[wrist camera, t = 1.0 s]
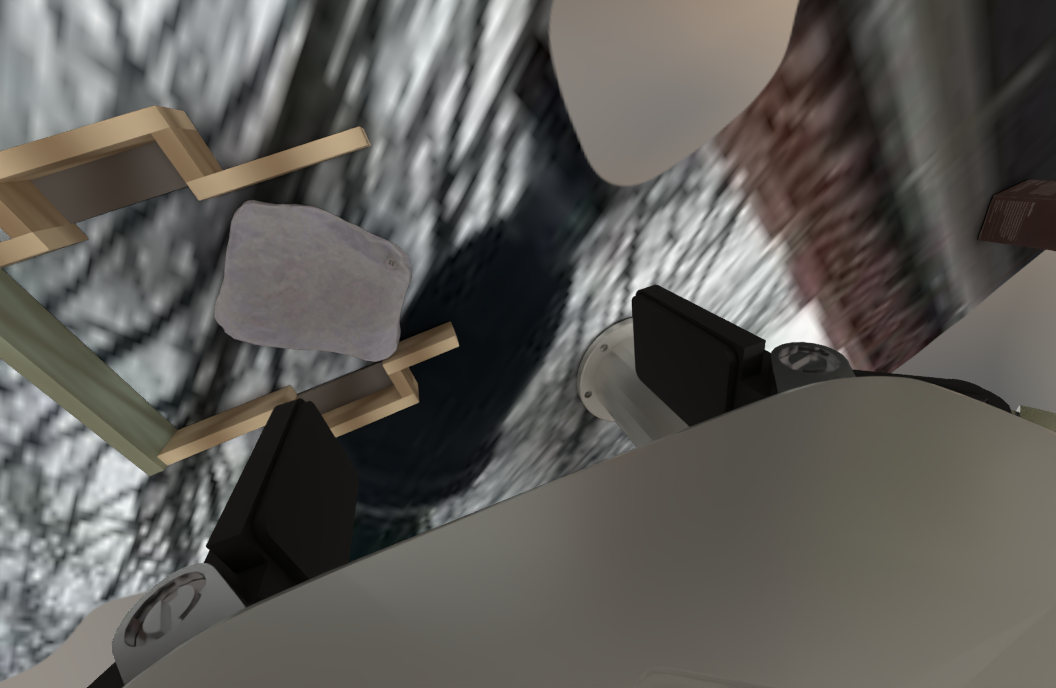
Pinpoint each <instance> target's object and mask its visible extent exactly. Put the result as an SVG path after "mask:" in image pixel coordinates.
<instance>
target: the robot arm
mask: <svg viewBox="0 0 1056 688" xmlns="http://www.w3.org/2000/svg"><path fill="white" fill-rule="evenodd" d="M632 317H633V318H629V319H626V320H624V321H621V322H619V323H617V324H615V325H613V326H612V327H610V328H609V329H607V330H606V331H605V332H603V333H602V334H601V335H600V336H599V337H598V338H597V339H596V340H595V341H594V342H593V343H592V344H591V346H590V347H589V348H588V350H587V352H586V353H585V355H584V356H583V359H582V361H581V364H580V366H579V370H578V375H577V389H578V394H579V397H580V399H581V401H582V403H583V404H584V405H585V407H586V408H587V409H588V411H590V412H591V413H592V414H593V415H594V416H596V417H598V418H600V419H603V420H607V421H614V422H617V424H618V425H619V426H620V427H621V429H622V430H623V431H624V432H625V434H626V435H627V436H628V437H629V439H630V440H631V441H632V442H633V444H634V445H635V446H636V447H637V448H635V449H632V450H630V451H627V452H624V453H622V454H619V455H617V456H614V457H612V458H609V459H607V460H604V461H602V462H599V463H596V464H594V465H591V466H589V467H586V468H584V469H581V470H579V471H576V472H574V473H571V474H569V475H566V476H564V477H561V478H559V479H556V480H554V481H551V482H549V483H546V484H544V485H541V486H539V487H536V488H534V489H531V490H529V491H526V492H524V493H521V494H519V495H516V496H513V497H511V498H508V499H506V500H503V501H501V502H498V503H496V504H493V505H491V506H488V507H486V508H483V509H481V510H479V511H476V512H474V513H471V514H469V515H466V516H464V517H461V518H459V519H456V520H454V521H451V522H449V523H446V524H444V525H441V526H439V527H436V528H434V529H432V530H429V531H427V532H424V533H422V534H419V535H417V536H414V537H412V538H409V539H407V540H404V541H402V542H399V543H397V544H394V545H392V546H389V547H387V548H384V549H382V550H380V551H377V552H375V553H372V554H370V555H367V556H365V557H362V558H360V559H357V560H355V561H352V562H350V563H349V556H350V548H351V540H352V532H353V524H354V516H355V508H356V500H357V492H358V483H359V480H358V475H357V472H356V470H355V468H354V466H353V465H352V463H351V461H350V460H349V458H348V457H347V455H346V453H345V452H344V450H343V449H342V447H341V445H340V444H339V442H338V441H337V439H336V437H335V436H334V434H333V433H332V431H331V429H330V428H329V426H328V425H327V423H326V421H325V420H324V418H323V417H322V415H321V413H320V412H319V410H318V409H317V407H316V405H315V404H314V403H313V402H312V401H307V402H305V401H304V400H303V399H301V398H299V399H296V400H292V401H289V402H286V403H283V404H280V405H277V406H275V407H274V409H273V411H272V413H271V415H270V417H269V419H268V421H267V423H266V425H265V427H264V429H263V431H262V433H261V435H260V437H259V439H258V441H257V443H256V445H255V448H254V450H253V452H252V454H251V456H250V458H249V460H248V462H247V464H246V466H245V468H244V470H243V472H242V474H241V476H240V478H239V480H238V482H237V484H236V486H235V488H234V490H233V492H232V494H231V496H230V498H229V500H228V502H227V504H226V506H225V508H224V510H223V512H222V514H221V516H220V518H219V521H218V523H217V525H216V527H215V529H214V531H213V533H212V535H211V537H210V539H209V541H208V543H207V545H206V547H207V548H208V549H209V550H210V551H209V553H208V555H207V557H206V559H205V561H204V563H197V564H194V565H190V566H187V567H184V568H182V569H180V570H179V571H177V572H175V573H173V574H171V575H169V576H168V577H166V578H165V579H164V580H162V581H161V582H159V583H158V584H156V585H155V586H154V587H153V588H152V589H151V590H149V591H148V592H147V593H146V594H145V595H144V596H143V597H142V598H140V599H139V601H138V602H137V603H136V604H135V605H134V606H133V607H132V608H131V610H130V611H129V612H128V613H127V614H126V616H125V617H124V619H123V621H122V622H121V624H120V625H119V627H118V628H117V631H116V633H115V635H114V638H113V641H112V653H113V656H114V659H115V661H116V662H115V663H114V664H112V665H111V666H110V667H109V668H108V669H107V670H106V671H105V672H104V673H103V674H102V675H100V676H99V677H98V678H97V679H96V680H95V681H94V682H93V683H92V684H91V685H89V686H88V687H87V688H1056V413H1053V412H1049V411H1044V410H1040V409H1036V408H1031V407H1026V406H1022V405H1020V406H1019V408H1018V409H1017V411H1013V410H1011V409H1010V407H1009V405H1008V404H1007V403H1006V402H1005V401H1004V400H1003V399H1001V398H1000V397H998V396H997V395H995V394H993V393H992V392H990V391H988V390H985V389H983V388H981V387H980V386H977V385H975V384H973V383H970V382H966V381H963V380H957V379H942V378H933V377H922V376H912V375H902V374H892V373H882V372H871V371H861V370H852V368H851V366H850V364H849V362H848V360H847V359H846V358H845V357H844V355H842V354H841V353H839V352H838V351H836V350H834V349H831V348H829V347H826V346H823V345H819V344H815V343H806V342H791V343H786V344H782V345H780V346H778V347H775V348H774V350H773V351H772V352H771V353H770V352H768V351H766V350H764V349H765V342H766V340H764V339H762V338H760V337H758V336H756V335H754V334H752V333H750V332H748V331H746V330H744V329H742V328H740V327H739V326H737V325H735V324H733V323H731V322H729V321H727V320H725V319H723V318H721V317H719V316H717V315H715V314H713V313H711V312H709V311H707V310H705V309H703V308H701V307H700V306H698V305H696V304H694V303H692V302H690V301H688V300H686V299H684V298H682V297H680V296H678V295H676V294H674V293H672V292H670V291H668V290H666V289H664V288H663V287H661V286H659V285H653V286H650V287H647V288H644V289H641V290H638V291H637V292H636V296H634V297H633V298H632Z"/></svg>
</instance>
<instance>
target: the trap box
mask: <svg viewBox="0 0 1056 688" xmlns="http://www.w3.org/2000/svg"><path fill="white" fill-rule="evenodd" d="M369 146H371V144H370V142H369V140H368V138H367V135H366V133H365V131H364V129H363V128H361V127H356V128H353V129H350V130H347V131H344V132H341V133H338V134H335V135H332V136H328V137H325V138H322V139H319V140H316V141H313V142H310V143H307V144H304V145H301V146H297V147H294V148H291V149H288V150H285V151H282V152H279V153H276V154H273V155H270V156H267V157H263V158H260V159H257V160H254V161H251V162H248V163H245V164H242V165H239V166H236V167H232V168H229V169H226V170H223V169H222V168H221V166H220V165H219V163H218V162H217V160H216V159H215V157H214V156H213V154H212V153H211V151H210V150H209V148H208V147H207V145H206V144H205V142H204V141H203V139H202V138H201V136H200V135H199V133H198V132H197V130H196V129H195V127H194V125H193V124H192V122H191V121H190V119H189V118H188V116H187V115H186V113H185V112H184V111H181V110H176V109H171V108H165V107H160V106H151V107H148V108H145V109H141V110H138V111H135V112H131V113H128V114H124V115H121V116H118V117H114V118H111V119H108V120H104V121H101V122H97V123H94V124H91V125H87V126H84V127H81V128H77V129H74V130H70V131H67V132H64V133H60V134H57V135H54V136H50V137H47V138H43V139H40V140H37V141H33V142H30V143H27V144H23V145H20V146H16V147H13V148H10V149H6V150H3V151H0V228H1V229H2V230H3V231H4V232H6V233H7V234H8V235H9V236H10V237H11V238H12V239H10V240H7V241H4V242H0V358H1V359H2V360H3V361H5V362H6V363H7V364H8V365H10V366H11V367H12V368H13V369H15V370H16V371H17V372H18V373H20V374H21V375H22V376H24V377H25V378H26V379H27V380H29V381H30V382H31V383H32V384H34V385H35V386H36V387H37V388H39V389H40V390H41V391H42V392H44V393H45V394H46V395H48V396H49V397H50V398H51V399H53V400H54V401H55V402H56V403H58V404H59V405H60V406H61V407H63V408H64V409H65V410H66V411H68V412H69V413H70V414H72V415H73V416H74V417H75V418H77V419H78V420H79V421H80V422H82V423H83V424H84V425H85V426H87V427H88V428H89V429H91V430H92V431H93V432H94V433H96V434H97V435H98V436H99V437H101V438H102V439H103V440H104V441H106V442H107V443H108V444H109V445H111V446H112V447H113V448H115V449H116V450H117V451H118V452H120V453H121V454H122V455H123V456H125V457H126V458H127V459H128V460H130V461H131V462H132V463H133V464H135V465H136V466H137V467H139V468H140V469H141V470H142V471H144V472H145V473H146V474H147V475H149V476H151V475H153V474H156V473H158V472H161V471H163V470H164V469H165V468H166V466H167V465H169V464H172V463H174V462H177V461H179V460H182V459H184V458H187V457H189V456H191V455H194V454H196V453H199V452H201V451H204V450H206V449H209V448H211V447H213V446H216V445H218V444H221V443H223V442H226V441H228V440H231V439H233V438H236V437H238V436H240V435H243V434H245V433H248V432H250V431H253V430H255V429H258V428H260V427H262V426H265V425H266V423H267V421H268V419H269V417H270V415H271V413H272V411H273V409H274V407H275V406H277V405H280V404H283V403H286V402H289V401H292V400H296V399H299V398H301V399H303V400H304V401H305V402H307V401H312V402H313V403H314V404H315V405H316V407H317V409H318V410H319V412H320V413H321V415H322V417H323V418H324V420H325V421H326V423H327V425H328V426H329V428H330V429H331V431H332V433H333V434H334V436H335V437H338V436H341V435H343V434H345V433H348V432H350V431H352V430H355V429H357V428H360V427H362V426H364V425H367V424H369V423H371V422H374V421H376V420H378V419H381V418H383V417H386V416H388V415H390V414H393V413H395V412H397V411H400V410H402V409H405V408H407V407H409V406H412V405H414V404H416V403H419V395H418V383H417V381H416V380H415V378H414V376H413V374H412V373H411V371H410V369H409V366H412V365H414V364H417V363H419V362H422V361H424V360H427V359H429V358H431V357H434V356H436V355H439V354H441V353H444V352H446V351H449V350H451V349H453V348H456V347H458V346H459V343H458V340H457V337H456V334H455V330H454V328H453V326H452V324H451V322H448V323H445V324H443V325H440V326H438V327H435V328H433V329H430V330H428V331H425V332H423V333H420V334H418V335H415V336H413V337H410V338H408V339H405V340H403V341H400V342H398V346H397V350H396V352H395V353H393V354H392V355H391V356H390V357H389V358H387V359H383V360H382V361H379V362H377V363H374V364H372V365H369V366H367V367H364V368H362V369H359V370H357V371H354V372H352V373H349V374H347V375H344V376H342V377H339V378H337V379H334V380H332V381H329V382H327V383H324V384H322V385H320V386H317V387H315V388H312V389H310V390H307V391H305V392H302V393H300V394H297V393H296V392H295V391H294V389H293V388H292V387H291V386H287V387H285V388H282V389H280V390H277V391H275V392H272V393H270V394H267V395H265V396H262V397H260V398H257V399H255V400H252V401H250V402H247V403H245V404H242V405H240V406H237V407H235V408H232V409H230V410H227V411H225V412H222V413H220V414H217V415H215V416H212V417H210V418H207V419H205V420H202V421H200V422H197V423H195V424H192V425H190V426H187V427H185V428H182V429H180V430H177V429H176V428H175V427H174V426H173V425H172V424H171V423H170V422H168V421H167V420H166V419H165V418H164V417H163V416H162V415H161V414H160V413H159V412H158V411H156V410H155V409H154V408H153V407H152V406H151V405H150V404H149V403H148V402H147V401H145V400H144V399H143V398H142V397H141V396H140V395H139V394H138V393H137V392H136V391H135V390H133V389H132V388H131V387H130V386H129V385H128V384H127V383H126V382H125V381H124V380H123V379H121V378H120V377H119V376H118V375H117V374H116V373H115V372H114V371H113V370H112V369H111V368H109V367H108V366H107V365H106V364H105V363H104V362H103V361H102V360H101V359H100V358H99V357H97V356H96V355H95V354H94V353H93V352H92V351H91V350H90V349H89V348H88V347H87V346H85V345H84V344H83V343H82V342H81V341H80V340H79V339H78V338H77V337H76V336H75V335H73V334H72V333H71V332H70V331H69V330H68V329H67V328H66V327H65V326H64V325H63V324H61V323H60V322H59V321H58V320H57V319H56V318H55V317H54V316H53V315H52V314H51V313H49V312H48V311H47V310H46V309H45V308H44V307H43V306H42V305H41V304H40V303H39V302H37V301H36V300H35V299H34V298H33V297H32V296H31V295H30V294H29V293H28V292H26V291H25V290H24V289H23V288H22V287H21V286H20V285H19V284H18V283H17V282H16V281H14V280H13V279H12V278H11V277H10V276H9V275H8V274H7V273H6V272H5V271H4V270H2V269H1V268H3V267H6V266H9V265H12V264H15V263H18V262H21V261H24V260H27V259H30V258H33V257H36V256H40V255H43V254H46V253H49V252H52V251H55V250H58V249H61V248H64V247H67V246H70V245H73V244H76V243H79V242H82V241H85V240H88V238H87V236H86V235H85V234H84V233H83V232H82V231H81V230H80V229H79V228H78V227H77V226H76V224H75V223H77V222H80V221H83V220H86V219H89V218H92V217H95V216H98V215H101V214H104V213H107V212H110V211H114V210H117V209H120V208H123V207H126V206H129V205H132V204H135V203H138V202H141V201H144V200H147V199H151V198H154V197H157V196H160V195H163V194H166V193H169V192H172V191H175V190H178V189H181V188H184V187H187V186H189V188H190V189H191V190H192V192H193V193H194V194H195V196H196V197H197V199H198V200H199V201H200V200H204V199H208V198H212V197H217V196H221V195H224V194H227V193H230V192H233V191H236V190H239V189H242V188H245V187H248V186H251V185H254V184H257V183H260V182H263V181H266V180H269V179H272V178H275V177H278V176H281V175H284V174H287V173H290V172H293V171H296V170H300V169H303V168H306V167H309V166H312V165H315V164H318V163H321V162H324V161H327V160H330V159H333V158H336V157H339V156H342V155H345V154H348V153H351V152H354V151H357V150H360V149H363V148H366V147H369Z"/></svg>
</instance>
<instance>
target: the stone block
mask: <svg viewBox="0 0 1056 688" xmlns="http://www.w3.org/2000/svg"><path fill="white" fill-rule="evenodd" d="M411 278H412V269H411V265H410V258H409V257H408V255H407V254H406V253H405V252H404V251H402V250H401V248H400V247H398V246H397V245H395V244H393V243H392V242H390V241H388V240H385V239H383V238H381V237H378V236H376V235H374V234H371V233H369V232H367V231H365V230H363V229H362V228H360V227H359V226H357V225H354V224H351V223H348V222H346V221H345V220H343V219H341V218H339V217H338V216H336V215H333V214H330V213H328V212H326V211H324V210H322V209H319V208H317V207H313V206H304V205H298V204H273V203H265V202H260V201H256V200H248V201H246V202H244V203H243V204H242V206H241V207H239V208H238V209H237V211H236V212H235V214H234V216H233V219H232V221H231V228H230V234H229V241H228V245H227V251H226V259H225V270H224V280H223V283H222V285H221V289H220V292H219V296H218V297H217V300H216V302H215V309H214V312H215V319H216V321H217V322H218V324H219V325H221V326H222V327H223V329H224V330H225V333H227V334H228V335H230V336H232V337H233V338H234V339H237V340H240V341H245V342H249V343H252V344H256V345H262V346H269V347H279V348H285V349H298V350H322V351H331V352H336V353H340V354H347V355H351V356H354V357H357V358H360V359H362V360H366V361H375V362H377V361H380V360H383V359H387V358H389V357H390V356H391V355H392V354H393V353H395V352H396V350H397V346H398V342H399V339H400V333H401V330H400V313H401V308H402V306H403V302H404V297H405V292H406V290H407V287H408V285H409V283H410V281H411Z"/></svg>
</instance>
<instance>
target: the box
mask: <svg viewBox="0 0 1056 688" xmlns="http://www.w3.org/2000/svg"><path fill="white" fill-rule="evenodd" d="M979 240H981V241H989V242H995V243H1002V244H1009V245H1016V246H1024V247H1031V248H1038V249H1045V250H1052V251H1056V180H1033V179H1029V180H1026V181H1024V182H1022V183H1020V184H1018V185H1016V186H1013V187H1011V188H1009V189H1007V190H1005V191H1003V192H1000V193H998V194H996V195H994V196H993V198H992V201H991V204H990V206H989V209H988V213H987V216H986V218H985V221H984V224H983V227H982V230H981V232H980V235H979Z"/></svg>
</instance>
